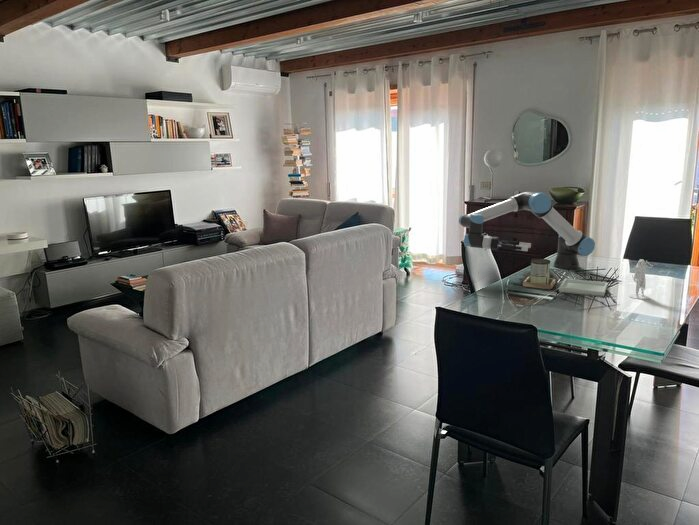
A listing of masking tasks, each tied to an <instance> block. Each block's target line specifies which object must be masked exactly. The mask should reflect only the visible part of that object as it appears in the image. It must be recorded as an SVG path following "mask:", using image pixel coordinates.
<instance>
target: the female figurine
mask: <svg viewBox="0 0 699 525" xmlns="http://www.w3.org/2000/svg"><path fill="white" fill-rule="evenodd" d="M648 265H649V266H648ZM653 267H654V265H653V264H652V263H650V262H649V261H648V260H644V259H643V258H642V259H641V258H640V259H639V260H638V262H637V263H636V265H635V272H634V275H633V273H632V272H630V274H631V275H632V277H631V278H632V280H633V282H635V286H636V287H635V293H631V294H629V295H628V296H629V297H630V298H632V299H636V300H650V299H651V297H650V296H649V295H647V294H644V293H645V292H644V291H645V290H646V274H645V273H646V271H647V269H653ZM640 291H641V294H639V292H640Z"/></svg>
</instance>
